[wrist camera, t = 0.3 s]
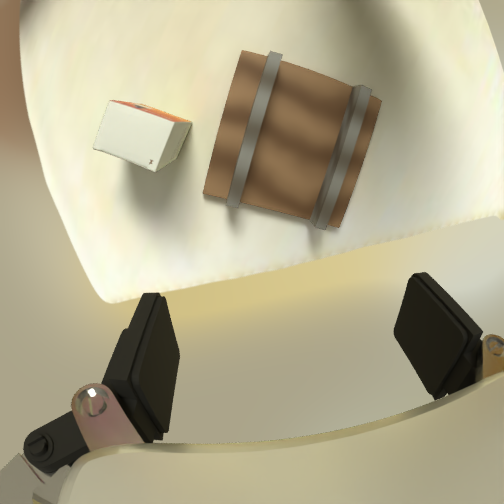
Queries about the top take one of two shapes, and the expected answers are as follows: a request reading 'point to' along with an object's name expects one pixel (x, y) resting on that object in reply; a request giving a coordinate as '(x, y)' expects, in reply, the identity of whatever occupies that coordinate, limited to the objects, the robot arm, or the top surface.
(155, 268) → the top surface
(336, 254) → the top surface
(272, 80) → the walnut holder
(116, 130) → the small box
